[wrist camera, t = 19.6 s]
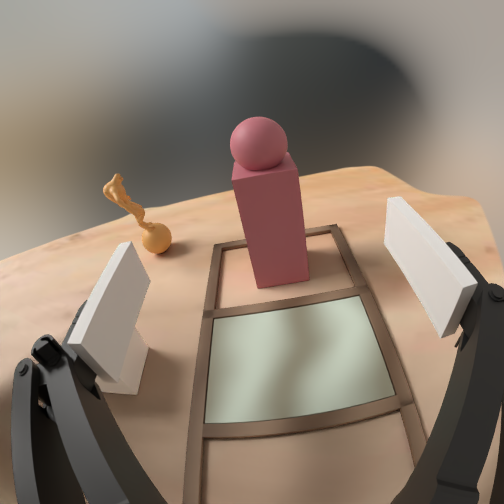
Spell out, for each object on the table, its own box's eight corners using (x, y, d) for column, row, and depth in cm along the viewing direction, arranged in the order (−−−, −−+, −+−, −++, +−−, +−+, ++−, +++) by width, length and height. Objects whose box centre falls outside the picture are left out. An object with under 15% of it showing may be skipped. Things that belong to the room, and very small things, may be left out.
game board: (183, 575, 6) (180, 576, 6) (214, 247, 34) (214, 244, 34) (442, 542, 5) (445, 542, 5) (336, 226, 33) (336, 224, 33)
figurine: (184, 257, 34) (151, 165, 27) (141, 279, 32) (100, 188, 25) (166, 233, 40) (139, 157, 33) (130, 251, 38) (98, 176, 31)
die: (91, 390, 19) (57, 357, 16) (106, 348, 23) (78, 312, 20) (137, 394, 19) (102, 359, 16) (148, 347, 23) (122, 308, 20)
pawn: (257, 288, 27) (219, 128, 18) (256, 257, 31) (224, 119, 22) (309, 280, 26) (289, 116, 18) (301, 250, 30) (281, 109, 22)
